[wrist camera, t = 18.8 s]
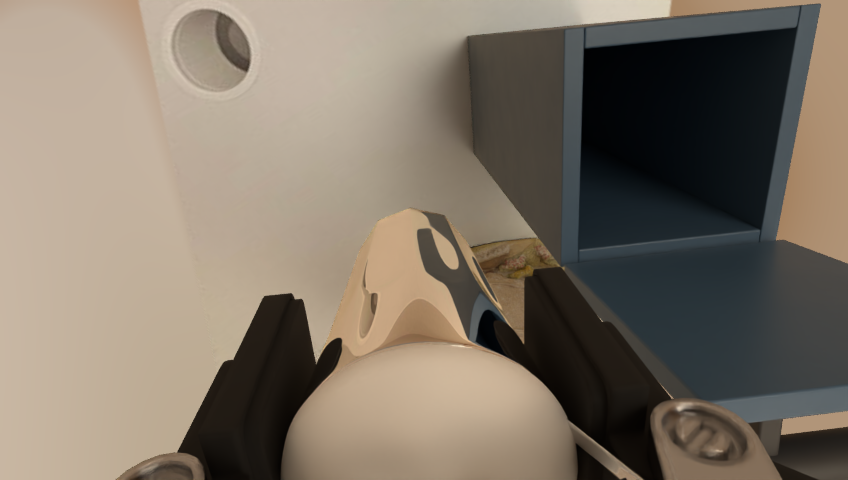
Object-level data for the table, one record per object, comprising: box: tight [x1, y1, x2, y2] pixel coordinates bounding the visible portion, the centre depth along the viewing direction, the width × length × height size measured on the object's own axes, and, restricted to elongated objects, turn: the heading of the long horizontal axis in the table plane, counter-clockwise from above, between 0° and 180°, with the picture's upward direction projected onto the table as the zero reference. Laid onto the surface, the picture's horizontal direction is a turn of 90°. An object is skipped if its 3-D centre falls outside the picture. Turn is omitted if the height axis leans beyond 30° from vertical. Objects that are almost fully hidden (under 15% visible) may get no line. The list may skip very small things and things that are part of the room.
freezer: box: [468, 4, 821, 267], centre depth 32 cm, size 10×10×25 cm
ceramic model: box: [471, 238, 565, 344], centre depth 46 cm, size 14×11×10 cm
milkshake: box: [281, 208, 645, 480], centre depth 10 cm, size 4×5×10 cm
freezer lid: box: [565, 240, 848, 480], centre depth 18 cm, size 10×10×5 cm
